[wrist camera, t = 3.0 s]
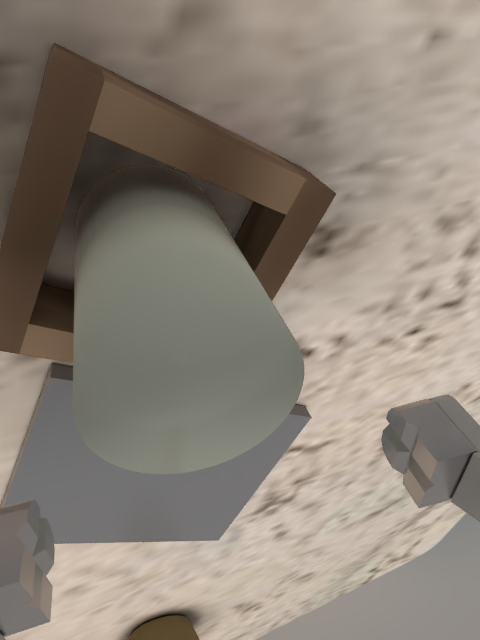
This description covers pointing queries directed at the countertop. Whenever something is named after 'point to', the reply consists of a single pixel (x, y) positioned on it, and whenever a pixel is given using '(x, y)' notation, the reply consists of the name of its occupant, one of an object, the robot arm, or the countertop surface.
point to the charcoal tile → (130, 481)
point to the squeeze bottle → (166, 629)
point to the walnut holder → (156, 142)
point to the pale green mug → (172, 330)
